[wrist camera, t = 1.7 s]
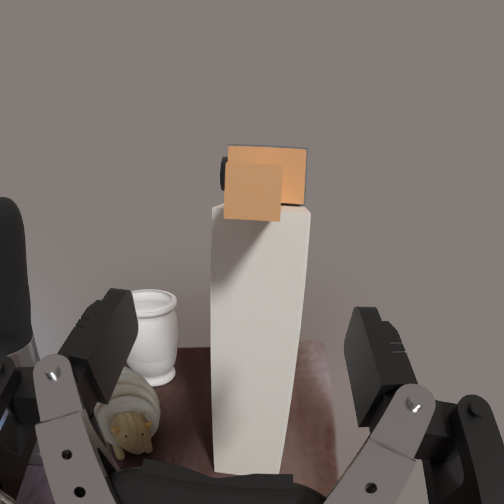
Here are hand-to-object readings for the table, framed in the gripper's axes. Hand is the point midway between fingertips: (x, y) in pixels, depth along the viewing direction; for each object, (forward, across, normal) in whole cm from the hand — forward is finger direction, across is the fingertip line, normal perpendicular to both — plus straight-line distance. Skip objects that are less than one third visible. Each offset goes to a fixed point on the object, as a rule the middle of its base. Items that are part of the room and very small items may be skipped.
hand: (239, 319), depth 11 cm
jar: (+27, +17, +39) cm, 50 cm away
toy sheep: (+11, +16, +34) cm, 40 cm away
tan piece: (+15, 0, +1) cm, 15 cm away
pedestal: (+14, -1, +35) cm, 38 cm away
